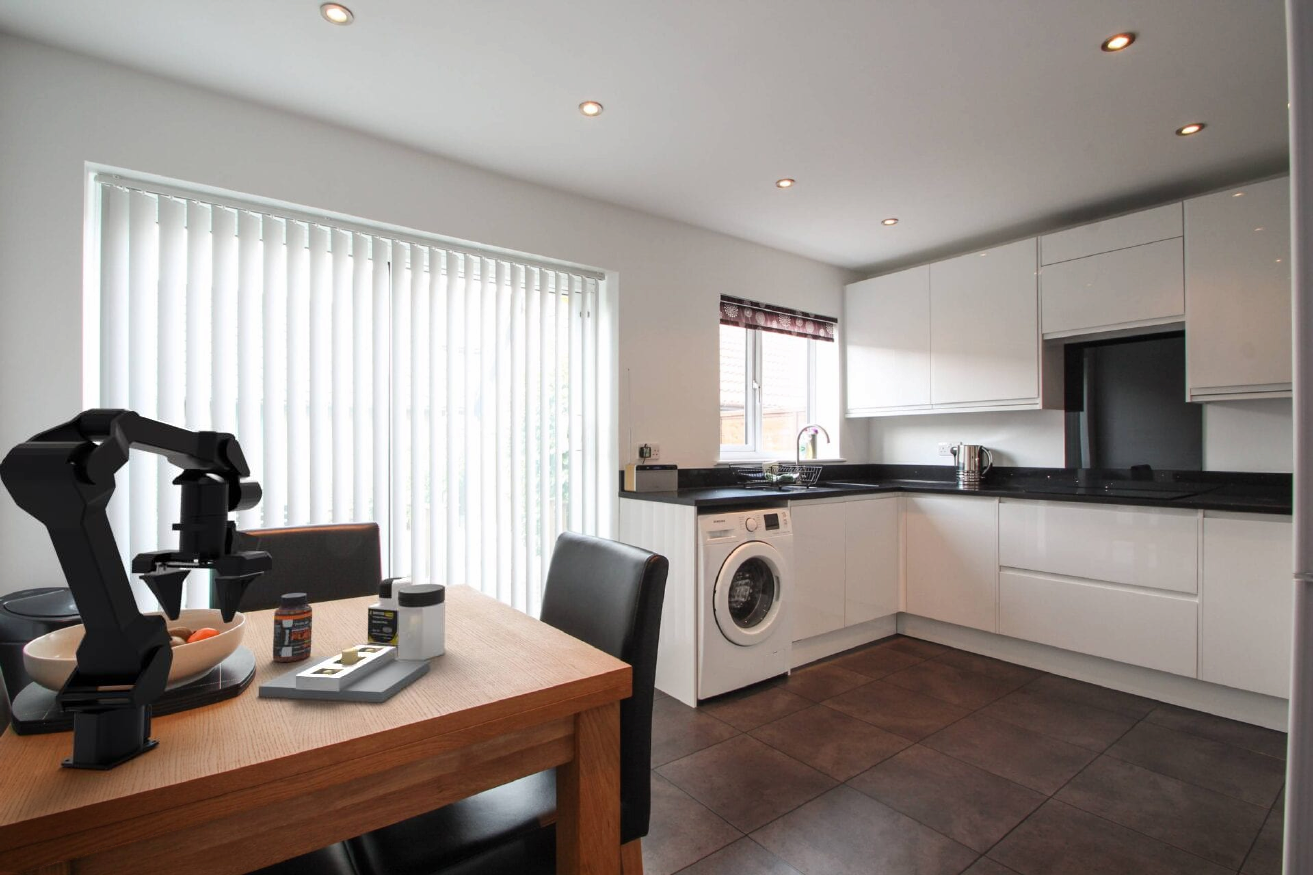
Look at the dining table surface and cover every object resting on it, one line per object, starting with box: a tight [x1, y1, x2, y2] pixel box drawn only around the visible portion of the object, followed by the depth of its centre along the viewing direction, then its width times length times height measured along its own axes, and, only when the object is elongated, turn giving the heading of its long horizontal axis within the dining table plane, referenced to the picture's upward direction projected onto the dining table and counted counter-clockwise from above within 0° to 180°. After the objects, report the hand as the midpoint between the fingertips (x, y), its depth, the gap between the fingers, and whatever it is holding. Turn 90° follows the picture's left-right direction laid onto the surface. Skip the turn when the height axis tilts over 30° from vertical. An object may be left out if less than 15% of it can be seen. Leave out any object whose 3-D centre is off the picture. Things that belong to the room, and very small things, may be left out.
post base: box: [258, 647, 431, 703], centre depth 96 cm, size 14×20×5 cm
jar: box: [397, 583, 446, 661], centre depth 111 cm, size 9×8×12 cm
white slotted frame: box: [296, 644, 397, 691], centre depth 96 cm, size 15×7×2 cm, turn 172°
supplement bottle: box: [272, 592, 313, 663], centre depth 109 cm, size 6×6×11 cm
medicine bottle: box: [367, 576, 413, 646], centre depth 120 cm, size 7×7×12 cm
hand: (200, 621), depth 89 cm, fingers open, 9 cm apart
